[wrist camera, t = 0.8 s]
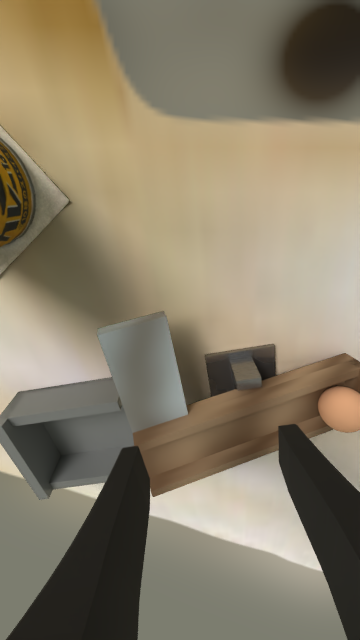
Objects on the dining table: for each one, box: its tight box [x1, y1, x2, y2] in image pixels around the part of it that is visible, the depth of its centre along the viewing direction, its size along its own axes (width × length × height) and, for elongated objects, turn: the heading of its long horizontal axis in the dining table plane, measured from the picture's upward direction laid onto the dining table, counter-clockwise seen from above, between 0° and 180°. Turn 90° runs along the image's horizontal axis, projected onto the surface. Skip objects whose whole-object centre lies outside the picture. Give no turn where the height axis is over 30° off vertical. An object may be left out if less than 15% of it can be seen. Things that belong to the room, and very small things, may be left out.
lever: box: [97, 311, 360, 497], centre depth 17 cm, size 16×12×2 cm
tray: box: [0, 377, 134, 500], centre depth 20 cm, size 8×8×4 cm
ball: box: [318, 386, 360, 432], centre depth 18 cm, size 3×3×3 cm
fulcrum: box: [205, 344, 275, 397], centre depth 20 cm, size 5×8×3 cm, turn 10°
